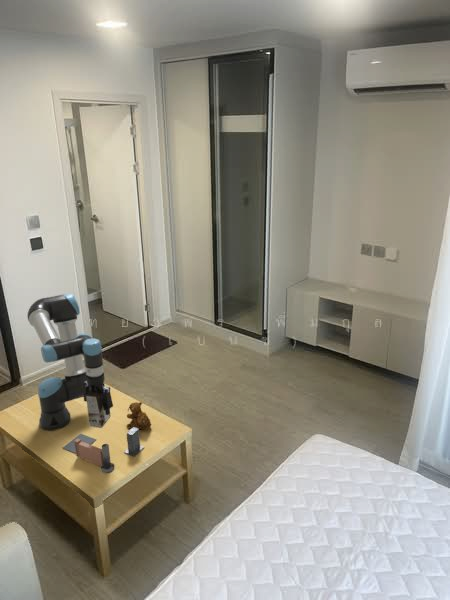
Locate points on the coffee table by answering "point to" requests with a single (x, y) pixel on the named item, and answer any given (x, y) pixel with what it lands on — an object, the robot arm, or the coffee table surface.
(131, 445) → the post
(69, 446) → the mat
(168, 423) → the coffee table surface
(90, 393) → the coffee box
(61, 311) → the robot arm
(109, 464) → the hinge post
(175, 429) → the coffee table surface
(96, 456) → the gate
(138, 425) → the stuffed squirrel
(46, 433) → the coffee table surface
